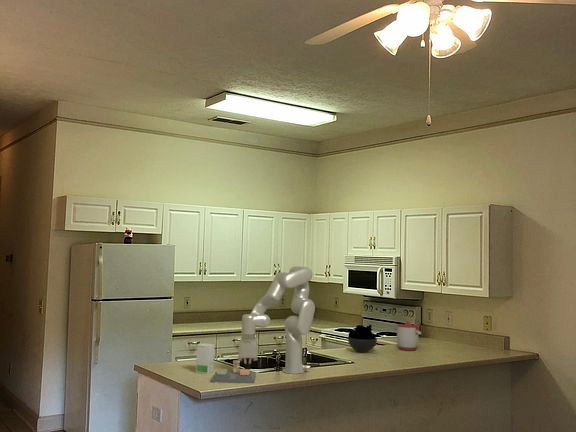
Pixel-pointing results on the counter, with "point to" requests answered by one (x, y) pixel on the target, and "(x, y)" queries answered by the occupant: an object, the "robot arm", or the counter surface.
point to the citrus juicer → (407, 336)
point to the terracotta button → (245, 372)
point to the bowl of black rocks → (362, 339)
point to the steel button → (222, 371)
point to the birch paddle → (236, 366)
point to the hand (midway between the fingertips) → (247, 370)
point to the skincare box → (205, 358)
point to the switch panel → (234, 378)
